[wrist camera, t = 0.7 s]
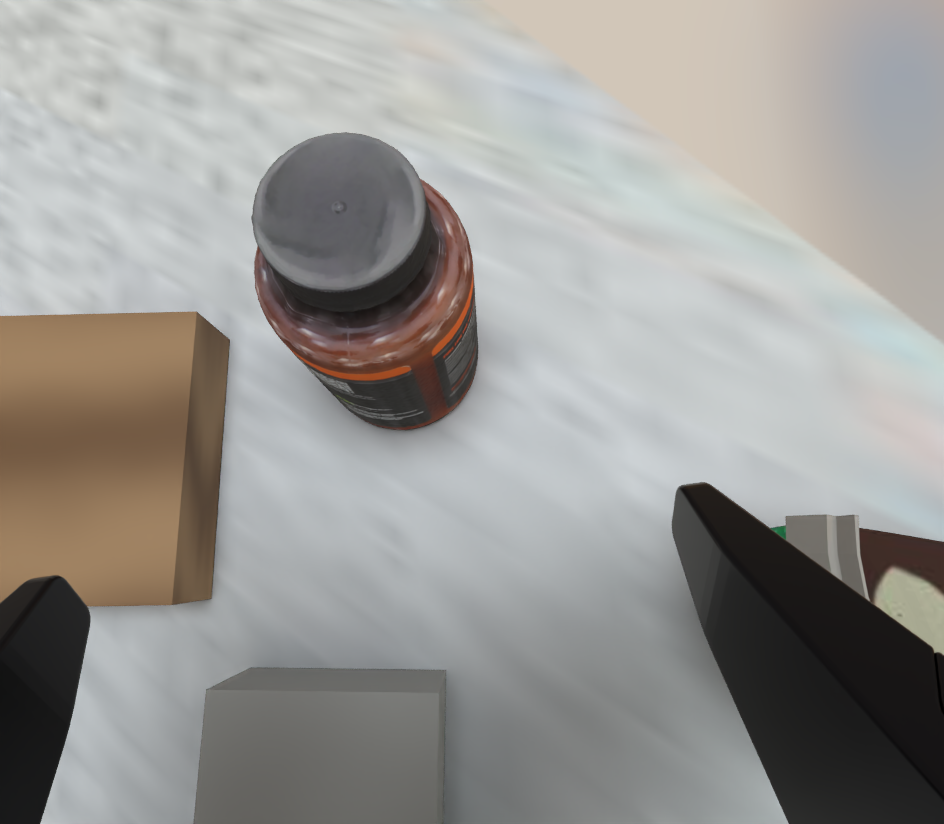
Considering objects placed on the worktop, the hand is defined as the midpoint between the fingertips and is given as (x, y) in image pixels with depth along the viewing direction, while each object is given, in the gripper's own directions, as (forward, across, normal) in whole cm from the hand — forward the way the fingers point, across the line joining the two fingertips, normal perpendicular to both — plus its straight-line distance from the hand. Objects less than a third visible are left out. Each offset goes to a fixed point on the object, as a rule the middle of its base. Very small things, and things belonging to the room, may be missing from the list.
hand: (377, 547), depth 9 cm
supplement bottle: (+15, 0, +6) cm, 17 cm away
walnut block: (+13, +13, +8) cm, 20 cm away
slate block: (+4, +4, +16) cm, 17 cm away
